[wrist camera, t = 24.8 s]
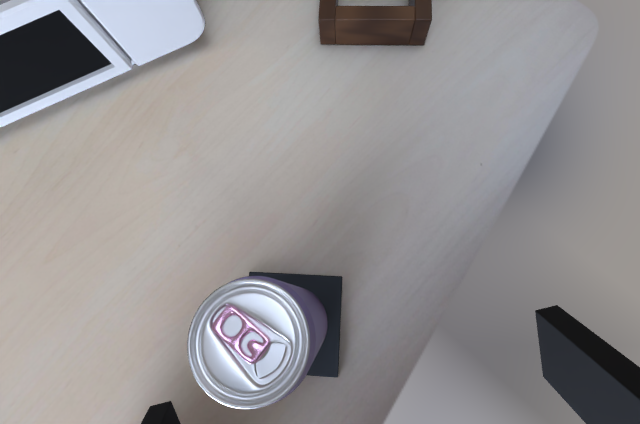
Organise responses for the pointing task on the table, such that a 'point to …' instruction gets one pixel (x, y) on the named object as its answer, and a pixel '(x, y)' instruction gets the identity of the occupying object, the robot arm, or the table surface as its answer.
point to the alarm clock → (82, 45)
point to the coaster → (330, 297)
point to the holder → (374, 23)
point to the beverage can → (255, 341)
